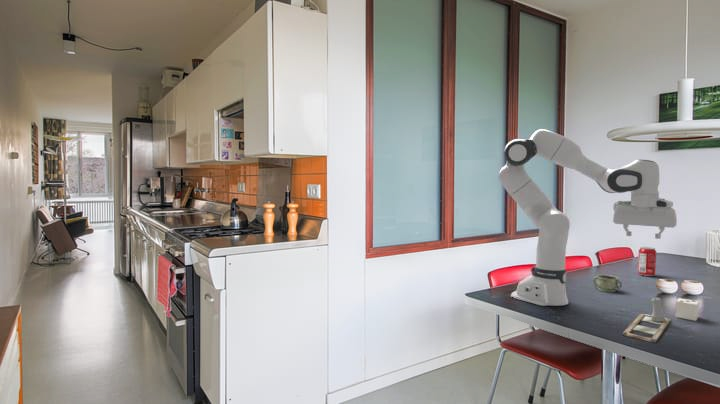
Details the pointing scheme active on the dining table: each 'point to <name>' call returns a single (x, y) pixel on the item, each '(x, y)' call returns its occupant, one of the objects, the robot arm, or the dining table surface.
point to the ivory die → (687, 309)
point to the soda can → (647, 261)
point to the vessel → (607, 283)
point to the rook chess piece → (657, 311)
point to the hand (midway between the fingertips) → (643, 237)
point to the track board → (646, 328)
